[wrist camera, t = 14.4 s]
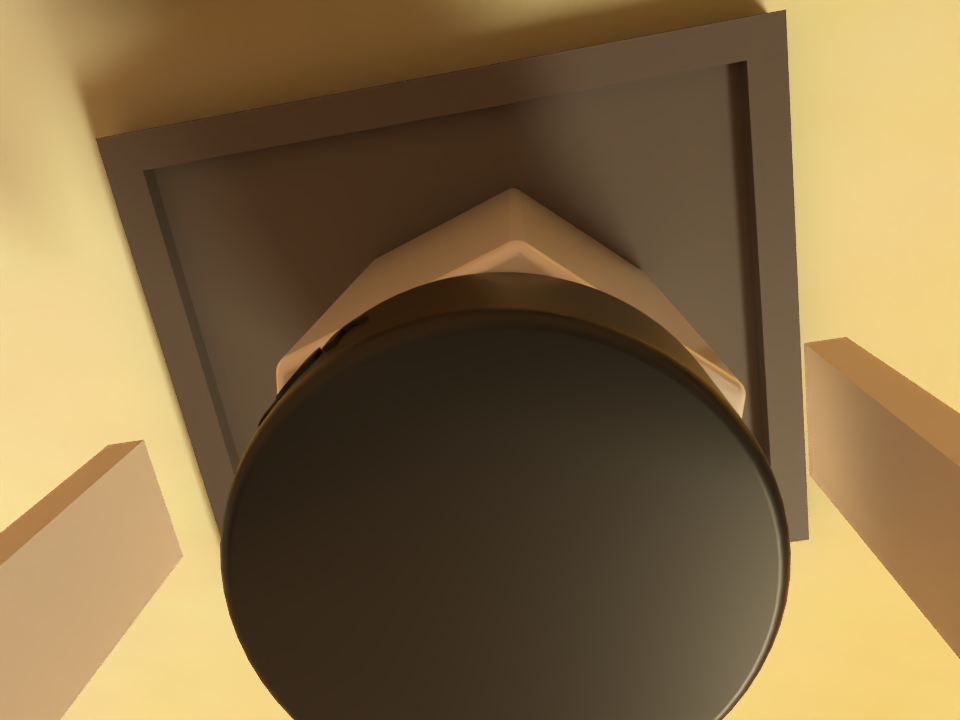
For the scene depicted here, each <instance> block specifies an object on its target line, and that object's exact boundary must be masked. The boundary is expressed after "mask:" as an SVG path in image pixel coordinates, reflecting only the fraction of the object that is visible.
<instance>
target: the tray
mask: <svg viewBox="0 0 960 720" xmlns="http://www.w3.org/2000/svg"><path fill="white" fill-rule="evenodd" d="M96 141H97V144H98V147H99V151H100V154H101V157H102V160H103V163H104V166H105V170H106V173H107V176H108V179H109V182H110V185H111V189H112V192H113V195H114V198H115V201H116V205H117V208H118V211H119V214H120V217H121V220H122V224H123V227H124V230H125V233H126V236H127V239H128V243H129V246H130V249H131V252H132V255H133V258H134V262H135V265H136V268H137V271H138V274H139V277H140V281H141V284H142V287H143V290H144V293H145V296H146V300H147V303H148V306H149V309H150V312H151V316H152V319H153V322H154V325H155V328H156V331H157V335H158V338H159V341H160V344H161V347H162V350H163V354H164V357H165V360H166V363H167V366H168V369H169V373H170V376H171V379H172V382H173V385H174V388H175V392H176V395H177V398H178V401H179V404H180V407H181V411H182V414H183V417H184V420H185V423H186V427H187V430H188V433H189V436H190V439H191V442H192V446H193V449H194V452H195V455H196V458H197V461H198V465H199V468H200V471H201V474H202V477H203V480H204V484H205V487H206V490H207V493H208V496H209V499H210V503H211V506H212V509H213V512H214V515H215V519H216V522H217V525H218V528H219V531H220V534H221V532H222V522H223V516H224V511H225V507H226V502H227V497H228V494H229V491H230V488H231V484H232V481H233V478H234V475H235V473H236V470H237V468H238V465H239V463H240V461H241V458H242V456H243V454H244V452H245V450H246V448H247V447H248V445H249V443H250V441H251V439H252V438H253V436H254V434H255V433H256V431H257V430H258V428H259V426H258V424H259V422H260V420H261V419H262V417H263V415H264V414H265V412H266V411H267V410H268V409H269V407H270V406H271V405H272V404H273V403H274V401H275V400H276V399H275V397H276V396H277V379H276V369H277V365H278V363H279V361H280V360H281V359H282V357H283V356H284V355H285V354H286V353H287V352H288V351H289V350H290V349H291V348H292V347H293V346H294V345H295V344H296V342H297V341H298V340H299V339H300V338H301V337H302V336H303V335H304V334H305V333H306V332H307V331H308V330H309V329H310V327H311V326H312V325H313V324H314V323H315V322H316V321H317V320H318V319H319V318H320V317H321V316H322V315H323V314H324V312H325V311H326V310H327V309H328V308H329V307H330V306H331V305H332V304H333V303H334V302H335V301H336V300H337V299H338V297H339V296H340V295H341V294H342V293H343V292H344V291H345V290H346V289H347V288H348V287H349V286H350V285H351V284H352V282H353V281H354V280H355V279H356V278H357V277H358V276H359V275H360V274H361V273H362V272H363V271H364V270H365V269H366V267H367V266H368V265H369V264H370V263H371V262H372V261H373V260H375V259H376V258H378V257H380V256H382V255H384V254H386V253H388V252H390V251H392V250H394V249H395V248H397V247H399V246H401V245H403V244H405V243H407V242H409V241H411V240H413V239H414V238H416V237H418V236H420V235H422V234H424V233H426V232H428V231H430V230H432V229H434V228H435V227H437V226H439V225H441V224H443V223H445V222H447V221H449V220H451V219H453V218H454V217H456V216H458V215H460V214H462V213H464V212H466V211H468V210H470V209H472V208H473V207H475V206H477V205H479V204H481V203H483V202H485V201H487V200H489V199H491V198H493V197H494V196H496V195H498V194H500V193H502V192H504V191H506V190H508V189H510V188H516V189H518V190H520V191H522V192H523V193H525V194H526V195H528V196H529V197H531V198H532V199H534V200H535V201H537V202H538V203H540V204H541V205H543V206H544V207H546V208H547V209H549V210H550V211H552V212H554V213H555V214H557V215H558V216H560V217H561V218H563V219H564V220H566V221H567V222H569V223H570V224H572V225H573V226H575V227H576V228H578V229H579V230H581V231H582V232H584V233H585V234H587V235H588V236H590V237H591V238H593V239H594V240H596V241H597V242H599V243H601V244H602V245H604V246H605V247H607V248H608V249H610V250H611V251H613V252H614V253H616V254H617V255H619V256H620V257H622V258H623V259H625V260H626V261H628V262H629V263H631V264H632V265H634V266H635V267H637V268H638V269H640V270H641V271H643V272H644V273H646V274H647V275H648V276H649V278H650V279H651V280H652V281H653V282H654V283H655V284H656V286H657V287H658V288H659V289H660V290H661V291H662V292H663V294H664V295H665V296H666V297H667V298H668V299H669V300H670V302H671V303H672V304H673V305H674V306H675V307H676V308H677V310H678V311H679V312H680V313H681V314H682V315H683V316H684V318H685V319H686V320H687V321H688V322H689V323H690V324H691V326H692V327H693V328H694V329H695V330H696V331H697V332H698V334H699V335H700V336H701V337H702V338H703V339H704V340H705V342H706V343H707V344H708V345H709V346H710V347H711V348H712V350H713V351H714V352H715V353H716V354H717V355H718V356H719V358H720V359H721V360H722V361H723V362H724V363H725V364H726V366H727V367H728V368H729V369H730V370H731V371H732V372H733V374H734V375H735V376H736V377H737V378H738V379H739V380H740V382H741V383H742V384H743V386H744V388H745V392H746V397H745V403H744V409H743V416H742V420H743V421H744V422H745V424H746V425H747V427H748V428H749V429H750V431H751V432H752V434H753V435H754V437H755V439H756V440H757V442H758V444H759V445H760V447H761V449H762V450H763V452H764V454H765V456H766V459H767V461H768V463H769V465H770V467H771V469H772V472H773V474H774V477H775V479H776V482H777V484H778V487H779V491H780V494H781V497H782V500H783V504H784V509H785V514H786V518H787V523H788V528H789V539H790V542H793V541H801V540H809V530H808V507H807V484H806V462H805V439H804V416H803V393H802V370H801V347H800V324H799V301H798V278H797V256H796V233H795V210H794V187H793V164H792V141H791V118H790V95H789V72H788V50H787V27H786V10H781V11H776V12H770V13H765V14H760V15H754V16H749V17H744V18H738V19H733V20H728V21H722V22H717V23H712V24H706V25H701V26H696V27H690V28H685V29H680V30H674V31H669V32H664V33H658V34H653V35H648V36H642V37H637V38H632V39H626V40H621V41H616V42H610V43H605V44H600V45H594V46H589V47H583V48H578V49H573V50H567V51H562V52H557V53H551V54H546V55H541V56H535V57H530V58H525V59H519V60H514V61H509V62H503V63H498V64H493V65H487V66H482V67H477V68H471V69H466V70H461V71H455V72H450V73H445V74H439V75H434V76H429V77H423V78H418V79H413V80H407V81H402V82H397V83H391V84H386V85H381V86H375V87H370V88H365V89H359V90H354V91H348V92H343V93H338V94H332V95H327V96H322V97H316V98H311V99H306V100H300V101H295V102H290V103H284V104H279V105H274V106H268V107H263V108H258V109H252V110H247V111H242V112H236V113H231V114H226V115H220V116H215V117H210V118H204V119H199V120H194V121H188V122H183V123H178V124H172V125H167V126H162V127H156V128H151V129H146V130H140V131H135V132H130V133H124V134H119V135H113V136H108V137H103V138H97V139H96Z"/></svg>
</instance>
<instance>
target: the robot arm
mask: <svg viewBox="0 0 960 720" xmlns="http://www.w3.org/2000/svg"><path fill="white" fill-rule="evenodd" d="M804 352H805V376H806V400H807V424H808V448H809V472H810V476H811V477H812V478H813V480H814V481H815V482H816V483H817V484H818V486H819V487H820V488H821V489H822V491H823V492H824V493H825V494H826V495H827V497H828V498H829V499H830V500H831V502H832V503H833V504H834V505H835V506H836V508H837V509H838V510H839V511H840V513H841V514H842V515H843V516H844V517H845V519H846V520H847V521H848V522H849V524H850V525H851V526H852V527H853V529H854V530H855V531H856V532H857V533H858V535H859V536H860V537H861V538H862V540H863V541H864V542H865V543H866V544H867V546H868V547H869V548H870V549H871V551H872V552H873V553H874V554H875V555H876V557H877V558H878V559H879V560H880V562H881V563H882V564H883V565H884V566H885V568H886V569H887V570H888V571H889V573H890V574H891V575H892V576H893V578H894V579H895V580H896V581H897V582H898V584H899V585H900V586H901V587H902V589H903V590H904V591H905V592H906V593H907V595H908V596H909V597H910V598H911V600H912V601H913V602H914V603H915V604H916V606H917V607H918V608H919V609H920V611H921V612H922V613H923V614H924V616H925V617H926V618H927V619H928V620H929V622H930V623H931V624H932V625H933V627H934V628H935V629H936V630H937V631H938V633H939V634H940V635H941V636H942V638H943V639H944V640H945V641H946V642H947V644H948V645H949V646H950V647H951V649H952V650H953V651H954V652H955V653H956V655H957V656H958V657H959V658H960V413H958V412H957V411H955V410H954V409H952V408H951V407H949V406H948V405H946V404H945V403H943V402H942V401H940V400H939V399H937V398H936V397H934V396H933V395H931V394H930V393H928V392H927V391H925V390H924V389H922V388H921V387H919V386H918V385H917V384H915V383H914V382H912V381H911V380H909V379H908V378H906V377H905V376H903V375H902V374H900V373H899V372H897V371H896V370H894V369H893V368H891V367H890V366H888V365H887V364H885V363H884V362H882V361H881V360H879V359H878V358H876V357H875V356H873V355H872V354H871V353H869V352H868V351H866V350H865V349H863V348H862V347H860V346H859V345H857V344H856V343H854V342H853V341H851V340H850V339H848V338H847V337H844V338H837V339H830V340H824V341H817V342H810V343H804ZM182 557H183V555H182V552H181V549H180V546H179V543H178V540H177V537H176V534H175V531H174V528H173V525H172V522H171V519H170V516H169V514H168V511H167V508H166V505H165V502H164V499H163V496H162V493H161V490H160V487H159V484H158V481H157V478H156V475H155V472H154V469H153V466H152V463H151V460H150V457H149V454H148V451H147V448H146V445H145V442H144V440H140V441H133V442H126V443H119V444H112V445H108V446H107V447H105V448H104V449H103V450H102V451H101V452H99V453H98V454H97V455H96V456H94V457H93V458H92V459H91V460H90V461H88V462H87V463H86V464H85V465H83V466H82V467H81V468H80V469H78V470H77V471H76V472H75V473H74V474H72V475H71V476H70V477H69V478H67V479H66V480H65V481H64V482H63V483H61V484H60V485H59V486H58V487H56V488H55V489H54V490H53V491H51V492H50V493H49V494H48V495H47V496H45V497H44V498H43V499H42V500H40V501H39V502H38V503H37V504H36V505H34V506H33V507H32V508H31V509H29V510H28V511H27V512H26V513H24V514H23V515H22V516H21V517H20V518H18V519H17V520H16V521H15V522H13V523H12V524H11V525H10V526H9V527H7V528H6V529H5V530H4V531H2V532H1V533H0V720H60V719H61V718H62V717H63V715H64V714H65V713H66V711H67V710H68V709H69V707H70V706H71V705H72V703H73V702H74V701H75V699H76V698H77V697H78V695H79V694H80V693H81V691H82V690H83V689H84V687H85V686H86V685H87V683H88V682H89V681H90V679H91V678H92V677H93V675H94V674H95V673H96V671H97V670H98V669H99V667H100V666H101V665H102V663H103V662H104V661H105V659H106V658H107V657H108V655H109V654H110V653H111V651H112V650H113V649H114V647H115V646H116V645H117V643H118V642H119V641H120V639H121V638H122V637H123V635H124V634H125V633H126V631H127V630H128V629H129V627H130V626H131V625H132V623H133V622H134V621H135V619H136V618H137V617H138V615H139V614H140V613H141V611H142V610H143V609H144V607H145V606H146V605H147V603H148V602H149V601H150V599H151V598H152V597H153V595H154V594H155V593H156V591H157V590H158V589H159V587H160V586H161V585H162V583H163V582H164V581H165V579H166V578H167V577H168V575H169V574H170V573H171V571H172V570H173V569H174V567H175V566H176V565H177V563H178V562H179V561H180V559H181V558H182Z"/></svg>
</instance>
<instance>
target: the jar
mask: <svg viewBox="0 0 960 720" xmlns="http://www.w3.org/2000/svg"><path fill="white" fill-rule="evenodd" d="M276 379H277V396H276V397H275V399H276V400H275V401H274V403H273V404H272V405H271V406H270V407H269V409H268V410H267V411H266V412H265V414H264V415H263V417H262V419H261V420H260V422H259V424H258V426H259V428H258V430H257V431H256V433H255V434H254V436H253V438H252V439H251V441H250V443H249V445H248V447H247V448H246V450H245V452H244V454H243V456H242V458H241V461H240V463H239V465H238V468H237V470H236V473H235V475H234V478H233V481H232V484H231V488H230V491H229V494H228V497H227V502H226V507H225V511H224V516H223V522H222V532H221V543H220V552H221V574H222V581H223V589H224V594H225V598H226V603H227V607H228V611H229V615H230V618H231V620H232V623H233V626H234V629H235V631H236V634H237V637H238V639H239V641H240V643H241V645H242V647H243V649H244V651H245V654H246V656H247V658H248V660H249V662H250V663H251V665H252V667H253V668H254V670H255V671H256V673H257V675H258V676H259V678H260V680H261V681H262V683H263V684H264V685H265V686H266V688H267V689H268V690H269V692H270V693H271V694H272V696H273V697H274V698H275V700H276V701H277V702H278V703H279V704H280V705H281V706H282V707H283V709H284V710H285V711H286V712H287V713H288V714H289V715H290V716H291V717H292V718H293V719H294V720H722V719H723V718H724V717H725V716H726V715H727V714H728V713H729V712H730V711H731V710H732V709H733V707H734V706H735V705H736V704H737V702H738V701H739V700H740V699H741V697H742V696H743V695H744V694H745V692H746V691H747V690H748V688H749V687H750V685H751V683H752V682H753V680H754V679H755V677H756V676H757V674H758V673H759V671H760V669H761V667H762V666H763V664H764V662H765V660H766V658H767V656H768V654H769V652H770V650H771V648H772V646H773V643H774V640H775V638H776V635H777V633H778V630H779V627H780V625H781V621H782V617H783V613H784V609H785V606H786V602H787V595H788V588H789V581H790V560H791V550H790V539H789V528H788V523H787V518H786V514H785V509H784V504H783V500H782V497H781V494H780V491H779V487H778V484H777V482H776V479H775V477H774V474H773V472H772V469H771V467H770V465H769V463H768V461H767V459H766V456H765V454H764V452H763V450H762V449H761V447H760V445H759V444H758V442H757V440H756V439H755V437H754V435H753V434H752V432H751V431H750V429H749V428H748V427H747V425H746V424H745V422H744V421H743V420H742V416H743V409H744V403H745V397H746V392H745V388H744V386H743V384H742V383H741V382H740V380H739V379H738V378H737V377H736V376H735V375H734V374H733V372H732V371H731V370H730V369H729V368H728V367H727V366H726V364H725V363H724V362H723V361H722V360H721V359H720V358H719V356H718V355H717V354H716V353H715V352H714V351H713V350H712V348H711V347H710V346H709V345H708V344H707V343H706V342H705V340H704V339H703V338H702V337H701V336H700V335H699V334H698V332H697V331H696V330H695V329H694V328H693V327H692V326H691V324H690V323H689V322H688V321H687V320H686V319H685V318H684V316H683V315H682V314H681V313H680V312H679V311H678V310H677V308H676V307H675V306H674V305H673V304H672V303H671V302H670V300H669V299H668V298H667V297H666V296H665V295H664V294H663V292H662V291H661V290H660V289H659V288H658V287H657V286H656V284H655V283H654V282H653V281H652V280H651V279H650V278H649V276H648V275H647V274H646V273H644V272H643V271H641V270H640V269H638V268H637V267H635V266H634V265H632V264H631V263H629V262H628V261H626V260H625V259H623V258H622V257H620V256H619V255H617V254H616V253H614V252H613V251H611V250H610V249H608V248H607V247H605V246H604V245H602V244H601V243H599V242H597V241H596V240H594V239H593V238H591V237H590V236H588V235H587V234H585V233H584V232H582V231H581V230H579V229H578V228H576V227H575V226H573V225H572V224H570V223H569V222H567V221H566V220H564V219H563V218H561V217H560V216H558V215H557V214H555V213H554V212H552V211H550V210H549V209H547V208H546V207H544V206H543V205H541V204H540V203H538V202H537V201H535V200H534V199H532V198H531V197H529V196H528V195H526V194H525V193H523V192H522V191H520V190H518V189H516V188H510V189H508V190H506V191H504V192H502V193H500V194H498V195H496V196H494V197H493V198H491V199H489V200H487V201H485V202H483V203H481V204H479V205H477V206H475V207H473V208H472V209H470V210H468V211H466V212H464V213H462V214H460V215H458V216H456V217H454V218H453V219H451V220H449V221H447V222H445V223H443V224H441V225H439V226H437V227H435V228H434V229H432V230H430V231H428V232H426V233H424V234H422V235H420V236H418V237H416V238H414V239H413V240H411V241H409V242H407V243H405V244H403V245H401V246H399V247H397V248H395V249H394V250H392V251H390V252H388V253H386V254H384V255H382V256H380V257H378V258H376V259H375V260H373V261H372V262H371V263H370V264H369V265H368V266H367V267H366V269H365V270H364V271H363V272H362V273H361V274H360V275H359V276H358V277H357V278H356V279H355V280H354V281H353V282H352V284H351V285H350V286H349V287H348V288H347V289H346V290H345V291H344V292H343V293H342V294H341V295H340V296H339V297H338V299H337V300H336V301H335V302H334V303H333V304H332V305H331V306H330V307H329V308H328V309H327V310H326V311H325V312H324V314H323V315H322V316H321V317H320V318H319V319H318V320H317V321H316V322H315V323H314V324H313V325H312V326H311V327H310V329H309V330H308V331H307V332H306V333H305V334H304V335H303V336H302V337H301V338H300V339H299V340H298V341H297V342H296V344H295V345H294V346H293V347H292V348H291V349H290V350H289V351H288V352H287V353H286V354H285V355H284V356H283V357H282V359H281V360H280V361H279V363H278V365H277V369H276Z"/></svg>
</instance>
